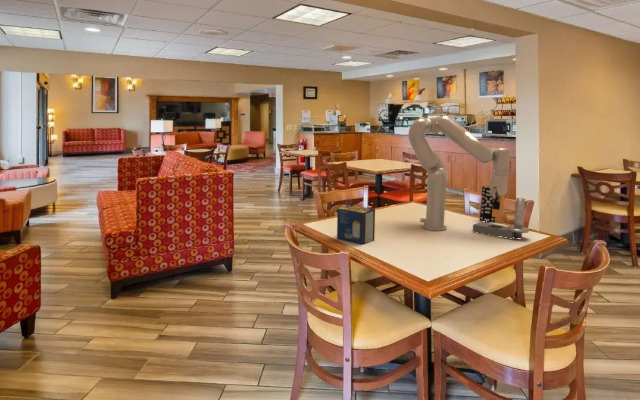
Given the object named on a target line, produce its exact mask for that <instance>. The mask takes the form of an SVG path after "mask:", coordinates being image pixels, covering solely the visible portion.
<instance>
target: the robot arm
mask: <svg viewBox="0 0 640 400" xmlns="http://www.w3.org/2000/svg"><path fill="white" fill-rule="evenodd" d="M439 133H442V134H443V135H444V136H446V137H447V138H448V139H449V140H451V141H452V142H453V143H455V144H456V145H457V146H458V147H460V148H461V149H462V150H464V151H465V152H467V153H468V154H469V155H470V156H471V157H473V158H474V159H476V160H477V161H478V162H480V163H482V164H488V163H490V162H492V174H491V180H490V181H491V182H490V186H491V188H490V195H492V198H493V209H497V210H499V207H500V202H499V199H500V196H501V194H504V193H505V195H506V194H507V192H508V177H509V173H510V161H511V160H510V159H511V150H510V148H507V147H496V148H495V147H488V146H487V145H484V144H483V143H482V142H481V141H480V140H478V139H477V138H476V137H474V136H473V134H472V133H471V132H470V131H469V130H468V129H466V128H465V126H464V127H463V126H462V125H461V124H459V123H458V122H457V121H456V120H454V119H453V118H452V117H451V116H449V115H440V116H437V117H426V118H425V117H419V118H417V119H415V120H414V121H413V122H412V124H411V125H410V126H409V129H408V135H407V136H408V140H409V144H410V146H411V148H412V150H413V152H414V155H415V156H416V159H417V160H418V162H419V164H420V166H421V168H423V169H424V170H425V171H426V172H427V174H428V176H427V181H426V183H427V184H426V185H427V186H426V187H427V189H426V190H427V191H426V193H427V195H426V209H425V210H426V211H425V212H426V214H425V218H422V217H421V218H420V220H419V222H420V223H423V224H422V228H423V229H425V230H427V231H428V230H429V231H434V232H435V231H437V232H438V231H439V232H441V231H446V230H447V228H448V227H447V226H446V225H445V212H446V211H445V210H446V198H447V197H446V192H447V182H448V181H449V173H448V171H447V169H446V167H445V165H444V163H443V162H442V159H441V158H440V156H439V154H438V153H437V152H436V151H433V149H432V148H431V146H430V143H429V142H428V139H427V138H426V135H429V134H439ZM496 194H497V195H496ZM497 197H498V198H497Z"/></svg>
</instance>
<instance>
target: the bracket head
mask: <svg viewBox="0 0 640 400" xmlns="http://www.w3.org/2000/svg"><path fill="white" fill-rule="evenodd" d="M507 227H508V226H507V225H501V224H495V223H486V222H481V221H480V222H477V223H473V224H472V232H473V231H474V232H473V233H475V232H478V233H477V234H480V233H484V234H483V235H486V234H490V235H489V236H491V235H495V236H494V237H496V236H502V237H507V238H513V237H514V232H511V231H508V230H507Z"/></svg>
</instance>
